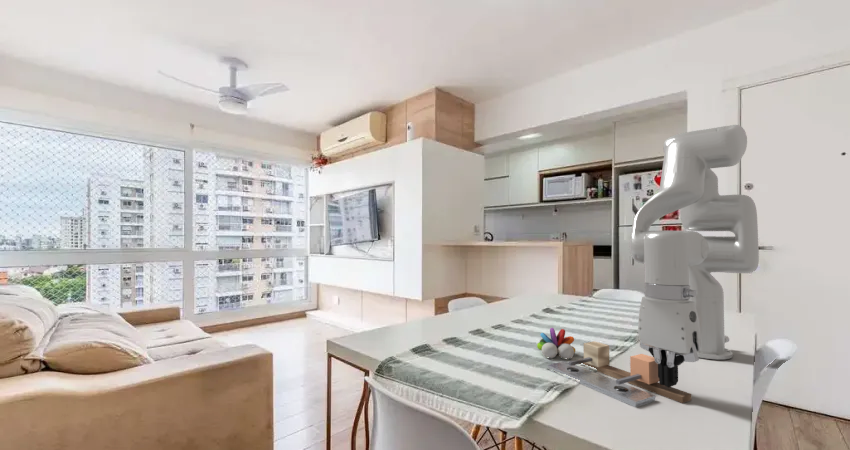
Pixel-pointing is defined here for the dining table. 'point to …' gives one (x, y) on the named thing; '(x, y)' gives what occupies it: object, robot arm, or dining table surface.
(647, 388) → the rail
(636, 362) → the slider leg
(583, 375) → the bolt-hole strip
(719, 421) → the dining table surface
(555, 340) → the rainbow fan toy
